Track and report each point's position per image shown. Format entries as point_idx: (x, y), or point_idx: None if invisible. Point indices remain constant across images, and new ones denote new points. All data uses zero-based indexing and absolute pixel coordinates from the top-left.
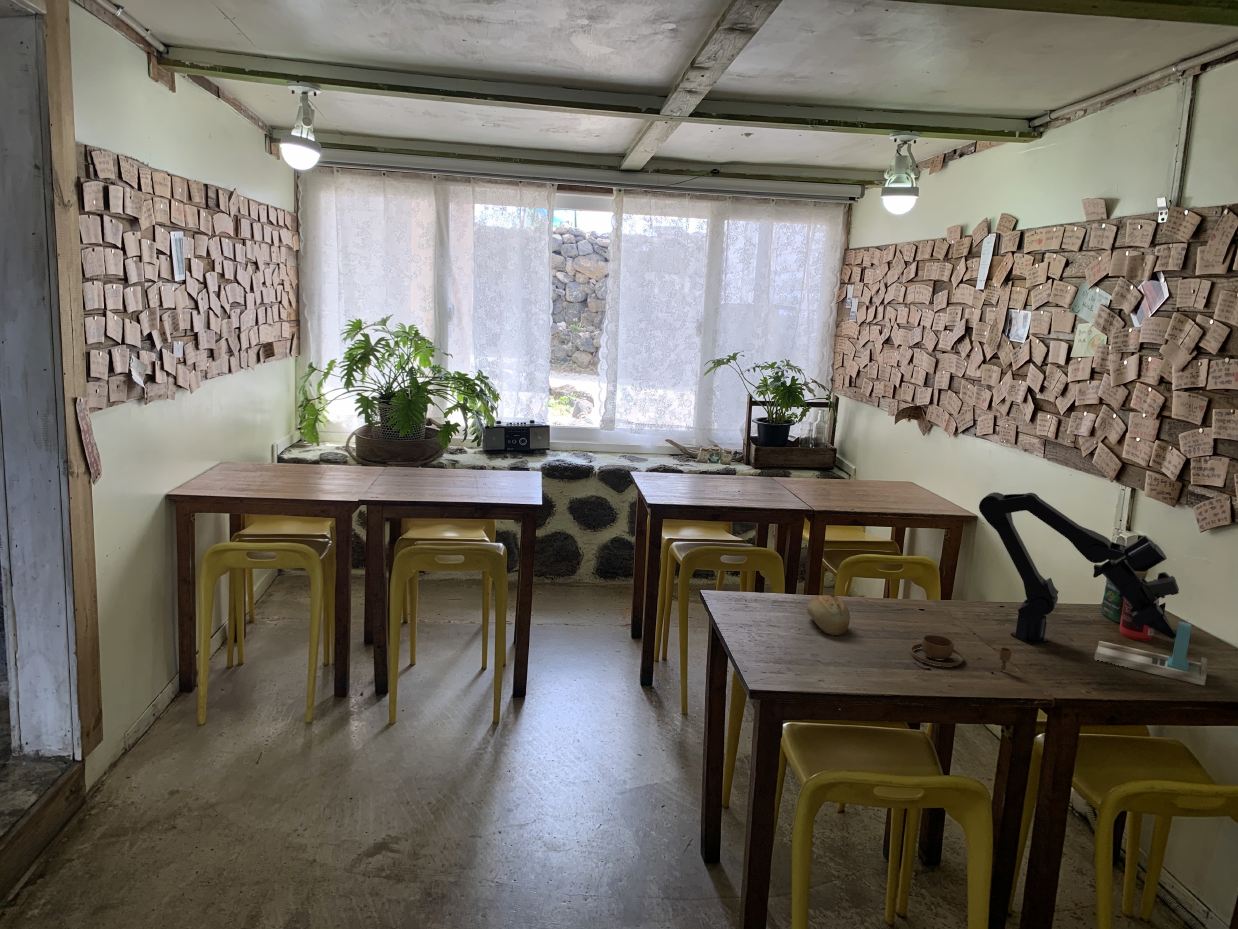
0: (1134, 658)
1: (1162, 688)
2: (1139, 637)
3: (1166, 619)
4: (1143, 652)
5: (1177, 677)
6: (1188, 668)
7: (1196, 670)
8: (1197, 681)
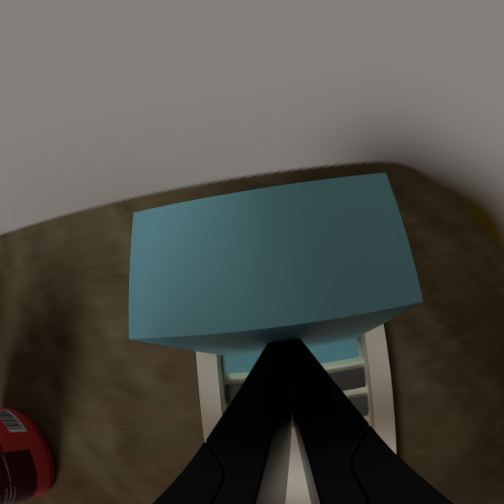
0: (302, 487)
1: (492, 326)
2: (45, 454)
3: (259, 485)
4: None
5: None
6: None
7: None
8: None
